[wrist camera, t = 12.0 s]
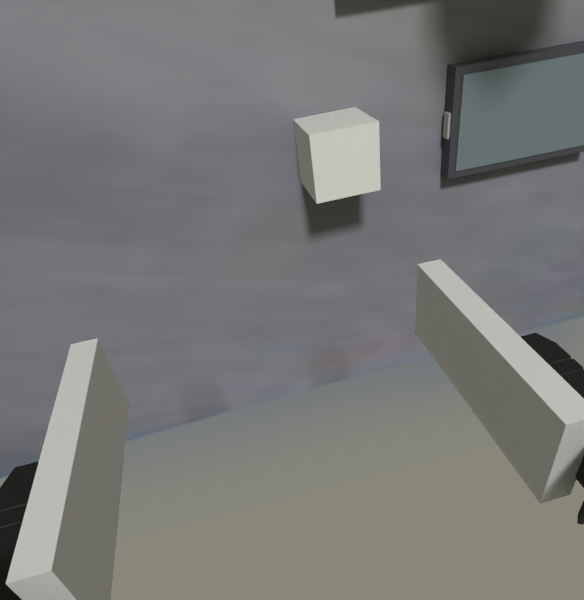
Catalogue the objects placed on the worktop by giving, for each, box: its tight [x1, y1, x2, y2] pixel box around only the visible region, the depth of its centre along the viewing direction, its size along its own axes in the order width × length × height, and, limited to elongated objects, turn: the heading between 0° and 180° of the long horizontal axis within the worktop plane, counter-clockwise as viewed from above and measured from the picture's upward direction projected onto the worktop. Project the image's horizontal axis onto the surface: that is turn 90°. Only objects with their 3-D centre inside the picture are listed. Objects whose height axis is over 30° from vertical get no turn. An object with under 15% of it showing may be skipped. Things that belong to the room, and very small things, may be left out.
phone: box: [441, 41, 584, 179], centre depth 31 cm, size 11×7×1 cm, turn 97°
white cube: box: [293, 107, 381, 204], centre depth 28 cm, size 5×4×4 cm
